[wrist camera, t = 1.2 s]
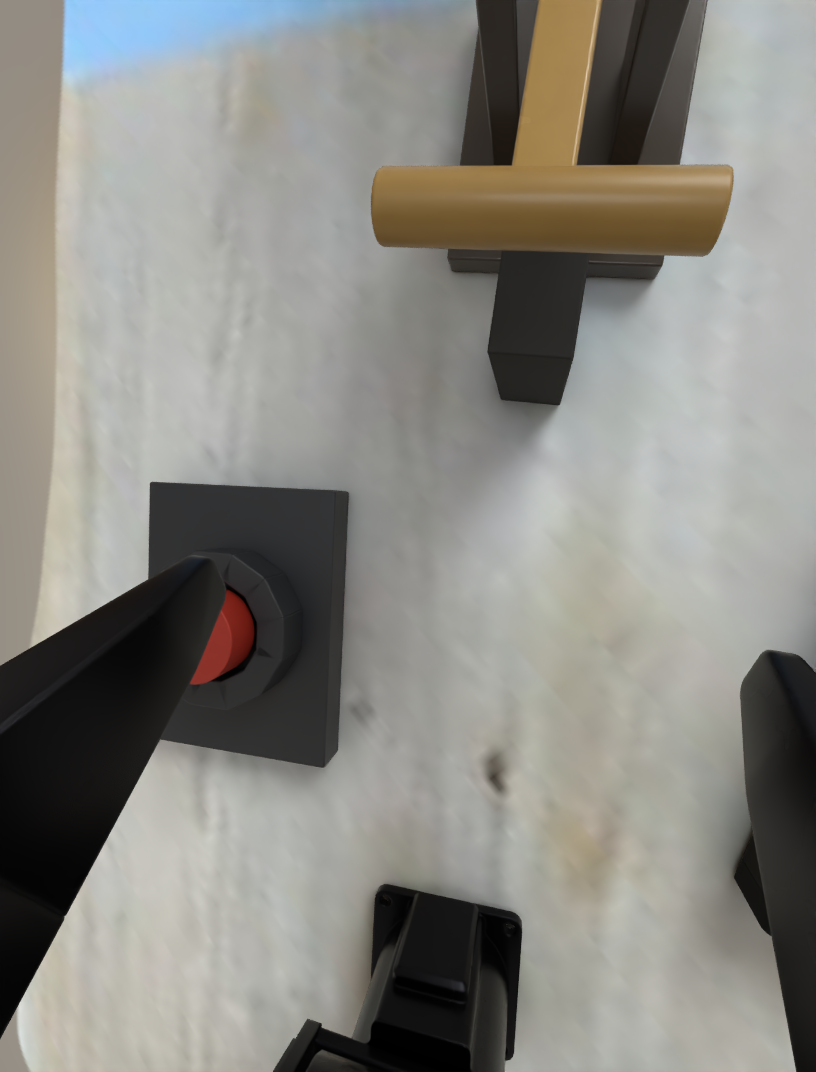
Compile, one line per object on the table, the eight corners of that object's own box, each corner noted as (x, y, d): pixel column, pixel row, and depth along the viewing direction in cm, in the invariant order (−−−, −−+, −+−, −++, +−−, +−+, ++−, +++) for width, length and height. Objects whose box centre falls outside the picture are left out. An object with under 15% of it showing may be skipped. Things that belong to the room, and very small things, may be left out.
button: (254, 676, 22) (230, 690, 20) (177, 665, 22) (148, 678, 21) (256, 589, 21) (232, 597, 20) (179, 582, 22) (150, 588, 20)
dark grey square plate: (338, 750, 24) (306, 790, 21) (169, 723, 26) (115, 755, 23) (349, 491, 24) (318, 489, 20) (173, 483, 26) (118, 479, 22)
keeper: (559, 405, 21) (573, 359, 15) (500, 399, 22) (486, 352, 15) (571, 329, 21) (591, 247, 14) (511, 326, 22) (502, 244, 15)
